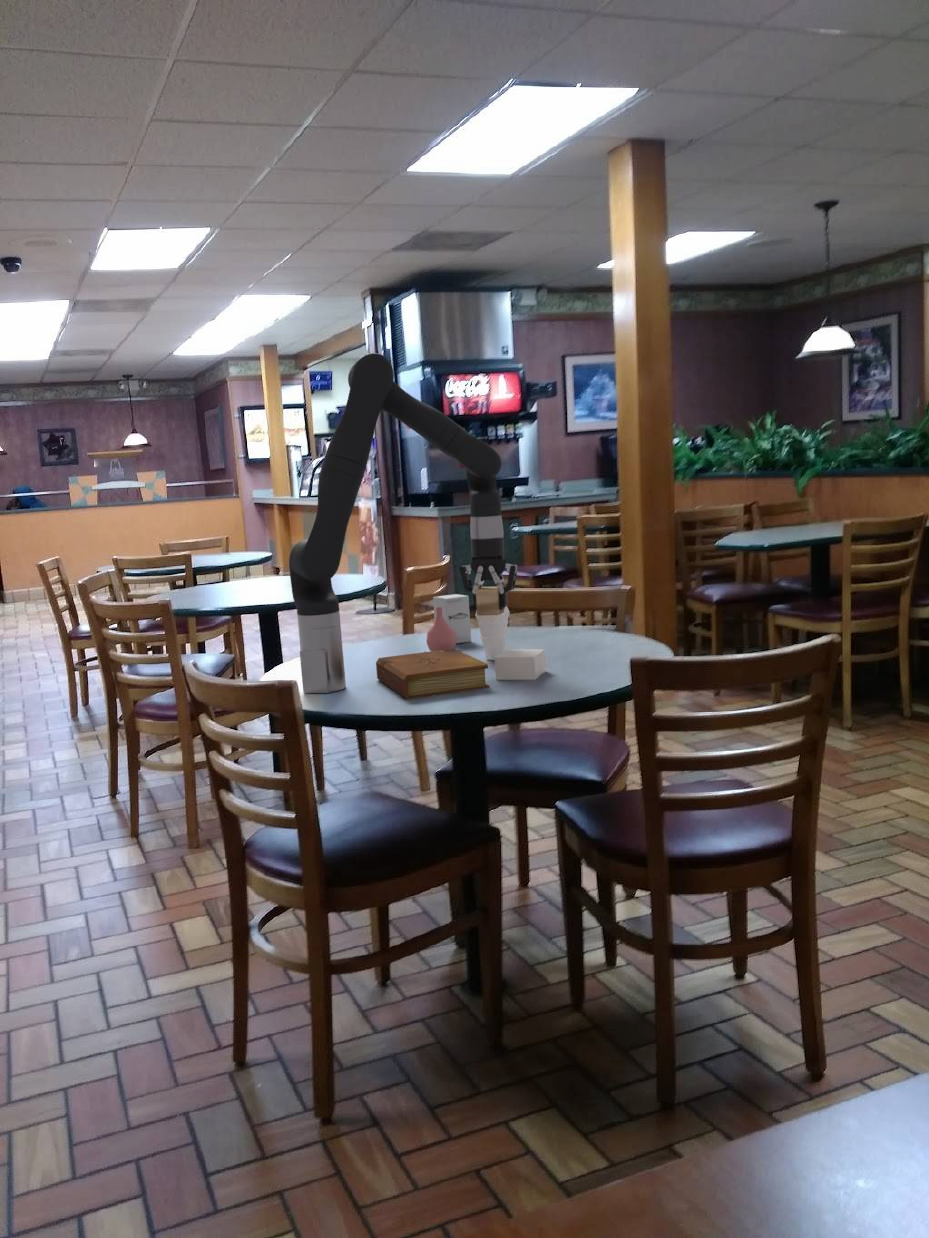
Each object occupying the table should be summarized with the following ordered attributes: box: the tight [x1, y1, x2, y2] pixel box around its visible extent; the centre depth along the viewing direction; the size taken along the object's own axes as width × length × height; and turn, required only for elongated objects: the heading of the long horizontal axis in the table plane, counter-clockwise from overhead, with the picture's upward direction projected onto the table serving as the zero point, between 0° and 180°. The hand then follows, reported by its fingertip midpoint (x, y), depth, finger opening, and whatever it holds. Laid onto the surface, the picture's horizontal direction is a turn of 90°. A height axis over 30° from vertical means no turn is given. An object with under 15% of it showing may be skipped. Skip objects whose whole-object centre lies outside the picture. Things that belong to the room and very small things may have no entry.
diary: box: [375, 648, 491, 700], centre depth 224 cm, size 23×19×6 cm
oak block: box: [476, 586, 504, 615], centre depth 236 cm, size 5×5×6 cm
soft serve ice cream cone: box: [475, 606, 510, 661], centre depth 248 cm, size 8×8×16 cm
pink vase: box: [426, 607, 457, 652], centre depth 259 cm, size 8×8×12 cm
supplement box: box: [432, 593, 472, 644], centre depth 276 cm, size 7×7×13 cm
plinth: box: [494, 648, 547, 681], centre depth 227 cm, size 9×9×5 cm
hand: (490, 609), depth 236 cm, fingers closed on oak block, 5 cm apart
